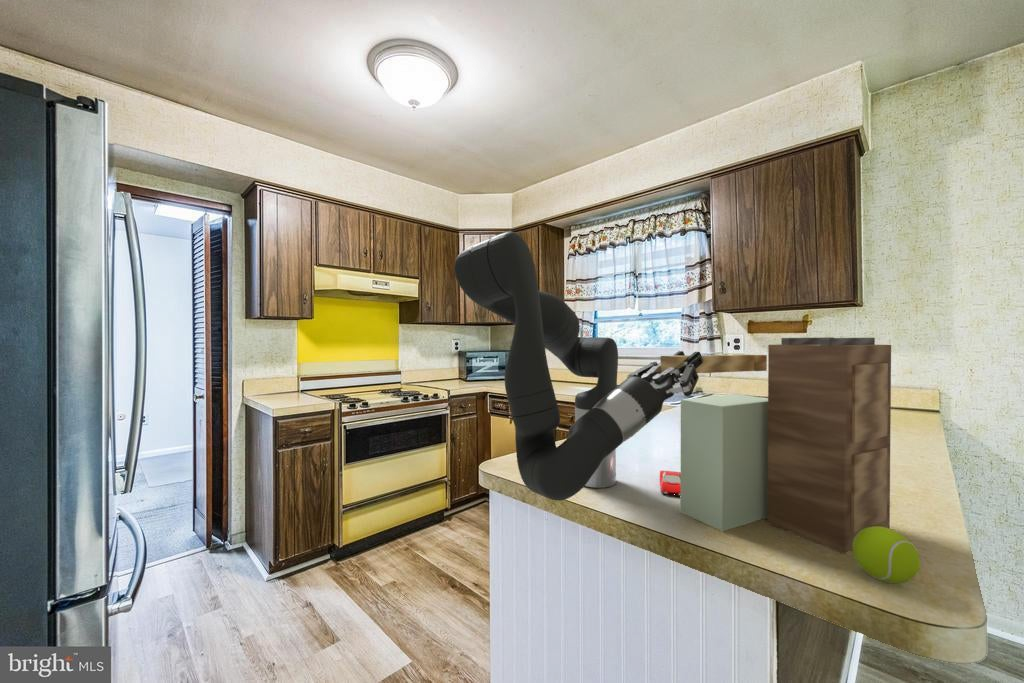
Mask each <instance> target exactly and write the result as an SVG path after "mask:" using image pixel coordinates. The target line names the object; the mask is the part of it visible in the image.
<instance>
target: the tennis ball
mask: <svg viewBox="0 0 1024 683" xmlns="http://www.w3.org/2000/svg"><path fill="white" fill-rule="evenodd" d="M852 548H853V550H852V552H853V556H854V559H855V561H856V563H857V564H858V566H860V567H861V569H862V570H863V571H865V572H866V573H867V574H868V575H869V576H871V577H872V578H875V579H876V580H879V581H882V582H885V583H890V584H903V583H907V582H909V581H911V580H912V579H914V578H915V577H916V576H917V574H918V573H919V571H920V568H921V558H920V554H919V552H918V550H917V548H916V547H915V545H914V544H913V542H912V541H910V539H908V538H907V537H906V536H904V535H903V534H902V533H900V532H899V531H896V530H894V529H892V528H890V529H889V528H885V527H879V526H873V527H868V528H865V529H863V530H861V531H860V532H858V533H857V535H856V536H855V538H854V540H853V545H852Z"/></svg>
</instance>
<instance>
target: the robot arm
mask: <svg viewBox="0 0 1024 683" xmlns="http://www.w3.org/2000/svg"><path fill="white" fill-rule="evenodd" d="M453 271H454V277H455V279H456V281H457V284H458V285H459V287H460V289H461V290H462V291H463V292H464V294H465V295H466V296H467V297H468V298H469V299H470V300H471V301H473V303H475V304H477V305H478V306H480V307H482V308H483V309H485V310H487V311H489V312H490V313H493V314H495V315H497V316H499V317H500V318H502V319H504V320H506V321H508V322H509V323H511V324H512V325H513V326H514V329H513V330H514V331H513V335H512V336H513V337H512V340H511V345H510V348H509V352H508V355H507V360H506V363H505V369H504V387H505V393H506V398H507V403H508V406H509V410H510V414H511V419H512V422H513V425H514V432H515V450H516V463H517V467H518V472H519V475H520V477H521V480H522V482H523V483H524V485H525V486H526V488H528V490H529V491H531V492H533V493H535V494H537V495H540V496H543V497H545V498H547V499H549V500H551V501H559V502H560V501H564V500H568V499H570V498H571V497H573V496H575V495H576V494H578V493H579V492H580V491H581V490H583V488H584V487H587V488H593V489H594V488H595V489H596V488H597V489H599V488H602V489H603V488H610V487H612V486H614V485H616V483H617V469H616V468H617V459H616V458H617V455H616V454H617V448H618V447H619V446H621V445H622V444H623V443H624V442H626V441H628V440H629V439H631V438H632V437H634V436H635V435H636V434H637V433H639V431H641V430H642V429H643V428H644V427H645V426H647V425H648V424H649V423H650V422H651V421H652V420H654V419H655V417H657V416H658V415H659V414H660V413H661V411H662V409H663V405H664V403H665V402H664V401H666V400H667V399H669V398H672V397H674V395H675V394H677V393H683V396H685V397H689V396H692V394H693V392H694V391H695V387H696V385H697V383H698V381H699V377H700V376H699V373H697V372H696V368H697V367H699V366H700V365H701V364H702V363H703V359H702V356H701V355H702V354H701V352H700V351H693V353H692V354H690V356H689V357H688V358H687V359H686V360H684V361H683V362H682V363H680V364H679V365H677V366H676V367H670V368H668V369H666V370H665V371H663V372H661V366H660V362H659V363H658V361H653V362H650V363H649V364H647V365H644V366H642V367H641V368H638V369H636V370H635V371H633V372H631V373H629V374H627V377H626V379H625V380H623V381H622V382H621V383H619V385H618V369H619V368H618V367H619V366H618V365H619V350H618V345H617V343H616V341H615V339H614V338H613V337H599V336H598V337H596V336H595V337H581V336H579V334H580V330H581V329H580V325H581V324H580V320H579V318H578V316H577V315H576V313H575V312H574V310H573V309H572V308H571V307H570V306H569V305H568V304H567V303H566V302H565V301H564V300H563V299H561V298H560V297H558V296H557V295H555V294H552V293H549V292H546V291H542V290H539V283H538V277H537V270H536V265H535V262H534V258H533V254H532V252H531V249H530V247H529V245H528V244H527V242H526V241H525V239H524V238H523V237H522V236H521V235H520V234H519V233H518V232H515V231H507V232H503V233H500V234H498V235H495V236H493V237H491V238H489V239H486V240H483V241H481V242H478V243H476V244H474V245H471V246H469V247H467V248H466V249H464V250H463V251H462V252H459V254H458V255H457V256H456V258H455V261H454V265H453ZM546 350H548V352H550V353H551V354H553V356H555V357H557V358H558V360H559V361H561V363H562V364H563V365H564V366H565V367H566V368H567V369H568V370H569V371H570V373H572V374H573V375H575V376H577V377H582V378H597V383H596V385H595V386H594V387H593V388H591V389H589V390H585V391H582V392H578V393H577V394H576V395H575V397H574V422H573V423H572V424H571V426H570V427H569V429H568V434H567V436H568V437H567V438H566V439H565V440H564V441H563V442H561V444H560V445H558V446H557V445H556V438H555V429H556V428H557V427H558V426H559V425H560V422H561V415H560V410H559V406H558V402H557V398H556V393H555V389H554V386H553V382H552V378H551V375H550V370H549V364H548V358H547V354H546V353H547V352H546ZM672 356H685V352H684V351H683V350H678V351H677V352H675V354H673V355H672ZM681 370H683V374H680V371H681Z"/></svg>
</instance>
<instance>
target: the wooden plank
mask: <svg viewBox="0 0 1024 683" xmlns="http://www.w3.org/2000/svg"><path fill="white" fill-rule="evenodd" d="M690 355H691V354H690ZM690 355H688V354H687V355H685V356H673V355H660V362H659V363H660V366H661V372H663V371H665V370H666V369H668V368H670V367H676V366H677V365H679V364H680V363H682V362H683V361H684V360H686V359H687V358H688V357H689V356H690ZM701 356H702V359H703V363H702V364H701V365H700V366H699V367H697V368H696V372H697V374H713V373H714V374H715V373H716V374H717V373H734V372H735V373H737V372H738V373H739V372H766V371H767V372H768V368H767V367H768V366H767V365H768V354H707V355H706V354H703V355H702V354H701ZM680 375H683V370H681V371H680Z"/></svg>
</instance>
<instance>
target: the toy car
mask: <svg viewBox="0 0 1024 683" xmlns="http://www.w3.org/2000/svg"><path fill="white" fill-rule="evenodd" d="M659 484H660V485H659V486H661V487H660V493H661V494H662V496H666V495H668V496H667V497H673V496H675V497H676V498H679V497H678V496H681V471H672V470H671V471H670V470H659ZM674 494H675V495H674ZM675 497H674V498H675Z"/></svg>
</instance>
